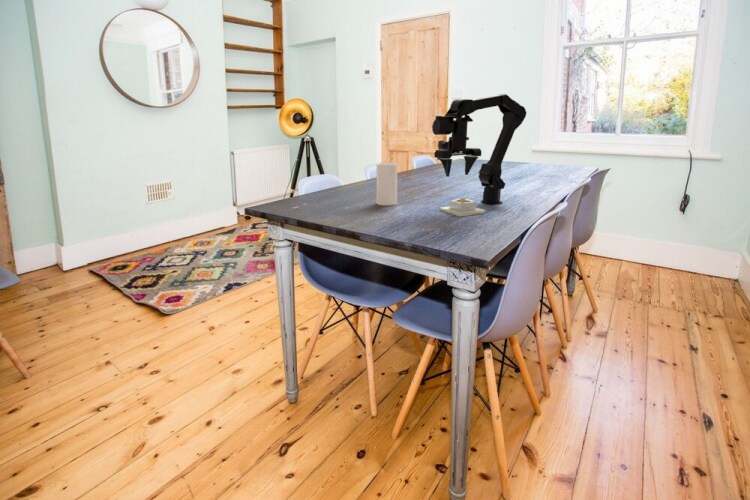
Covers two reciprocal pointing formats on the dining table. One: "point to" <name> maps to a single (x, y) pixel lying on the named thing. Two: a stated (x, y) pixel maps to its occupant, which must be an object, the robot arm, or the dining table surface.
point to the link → (462, 205)
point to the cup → (386, 183)
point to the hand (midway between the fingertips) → (457, 175)
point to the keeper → (464, 213)
